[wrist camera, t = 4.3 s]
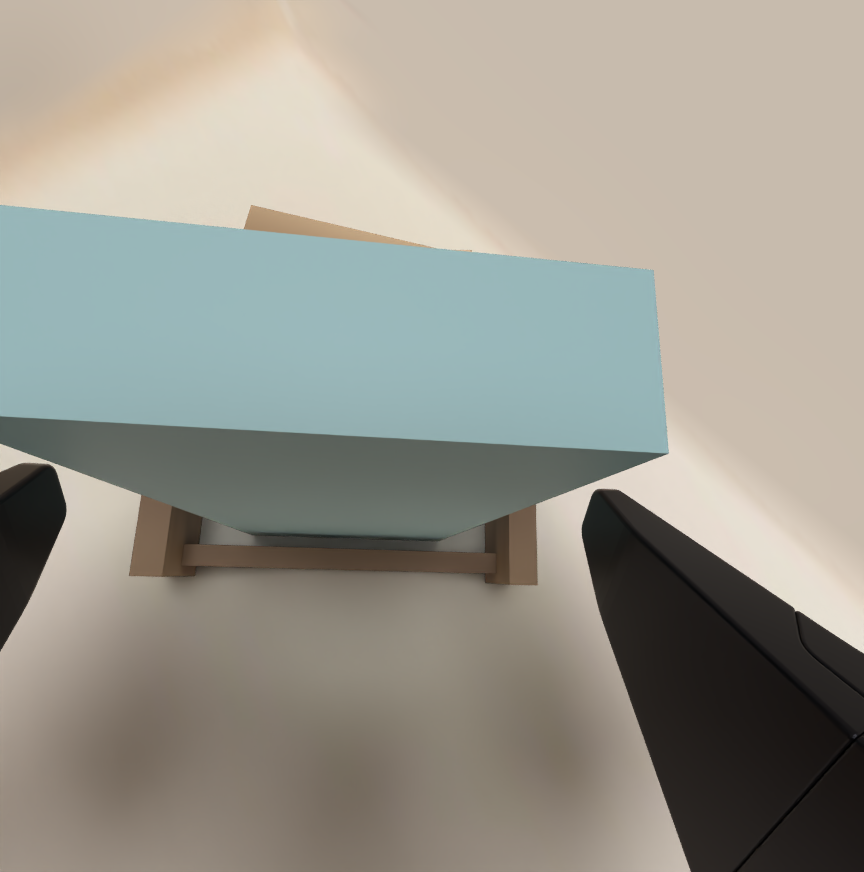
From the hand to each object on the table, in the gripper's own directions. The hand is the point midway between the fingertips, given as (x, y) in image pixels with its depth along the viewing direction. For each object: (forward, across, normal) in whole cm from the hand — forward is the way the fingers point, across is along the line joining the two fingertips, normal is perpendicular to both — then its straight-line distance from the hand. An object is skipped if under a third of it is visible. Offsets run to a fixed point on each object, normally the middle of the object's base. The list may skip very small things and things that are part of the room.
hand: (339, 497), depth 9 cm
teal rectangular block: (+7, 0, +6) cm, 9 cm away
